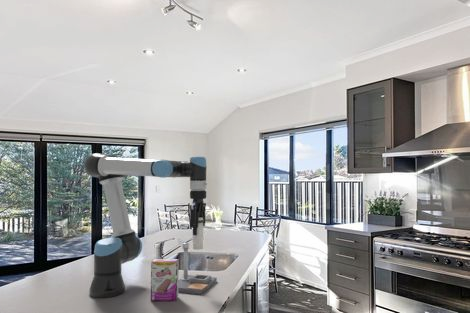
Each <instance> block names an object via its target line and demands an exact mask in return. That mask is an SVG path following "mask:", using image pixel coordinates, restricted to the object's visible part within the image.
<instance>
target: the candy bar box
mask: <svg viewBox="0 0 470 313" xmlns="http://www.w3.org/2000/svg"><path fill="white" fill-rule="evenodd" d="M179 261H180V260H179V259H177V258H176V259H175V258H174V259H173V258H171V259H167V258H166V259H165V258H164V259H163V258H158V259H157V258H154V259H152V261H151V265H150V267H151V268H150V271H151V272H150V301H151V302H155V301H156V302H161V301H162V302H165V301H167V302H169V301H170V302H173V301H175V302H176V301H177V300H178V297H179V292H178V280H179V270H180V268H179V267H180V265H179Z"/></svg>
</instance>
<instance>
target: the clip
mask: <svg viewBox="0 0 470 313" xmlns="http://www.w3.org/2000/svg"><path fill="white" fill-rule="evenodd" d="M177 245H179V246H180V247H181V248H182V250H184V249H188V250H189V249H190V242H187V241H185V240H183V239H181V238H178V239H177Z"/></svg>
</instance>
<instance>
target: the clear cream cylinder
mask: <svg viewBox="0 0 470 313" xmlns="http://www.w3.org/2000/svg"><path fill="white" fill-rule="evenodd" d="M203 222H204V220H203V217H199V220H198V228H199V242H198V243H197V242H193V241H192V249H193V250H196V251H197V250H203V249H204V226H203Z"/></svg>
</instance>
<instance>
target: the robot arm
mask: <svg viewBox="0 0 470 313" xmlns="http://www.w3.org/2000/svg"><path fill="white" fill-rule="evenodd" d="M207 166H208V165H207V159H206V157H205V156H191V157H189V160H187V161H181V160H180V161H177V160H168V159H150V158H149V159H147V158H145V159H144V158H123V157H121V156H119V155H116V154H112V153H110V154H109V153H99V152H98V153H97V152H96V153H91V154H90V155H88V156H87V157H86V158H85V160H84V162H83V168H84V171H85V173H86V174H87V175H88V176H90V177H92V178H98V183H99V184H100V185H102V186H103V190H104V195H105V200H106V203H107V204H106V205H107V210H108V215H109V218H110V224H111V228H112V229H111V230H112V234H111V236H110V237H107V238H101V239H100V240H97V241H96V243H95V244H94V250H93V254H94V255H93V256H94V258H93V277H92V281H91V284H90V288H89V296H90V297H92V298H100V299H102V298H103V299H104V298H112V297H117V296H120V295H121V294H124V293H125V291H126V284H125V282H124V278H123V274H122V265H123V264H126V263H128V262H132V261H133V260H135V259H137V258H138V257H139V256H140V255H141V254H142V250H143V243H142V242H143V241H142V239H141V238H140V237H139V236H138V235H136V231H135V229H132V227H131V222H130V217H129V214H128V208H127V203H126V198H125V194H124V188H123V184H122V181H123V180H124V176H137V177H138V176H139V177H140V176H141V177H155V178H189V189H190V191H189V199H191V200H192V204H190V205H189V220H190V221H189V228H191V229H192V243H193V242H197V243H198V242H199V228H198V220H199V217H203V220H204V222H203V227H205V226H206V207H207V203H206V202H204V199H206V198H207V191H206V189H207V185H208V183H207V168H208V167H207Z"/></svg>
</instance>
